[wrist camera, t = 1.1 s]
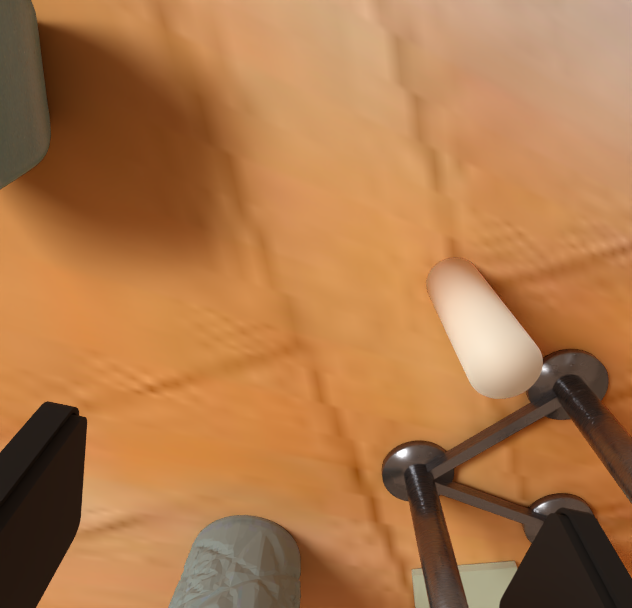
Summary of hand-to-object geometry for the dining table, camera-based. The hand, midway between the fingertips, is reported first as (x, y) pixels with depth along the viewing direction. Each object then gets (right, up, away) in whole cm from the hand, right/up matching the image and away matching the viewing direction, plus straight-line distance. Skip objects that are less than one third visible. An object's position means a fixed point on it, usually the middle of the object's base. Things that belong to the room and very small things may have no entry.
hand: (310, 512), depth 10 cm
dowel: (+8, +5, +21) cm, 23 cm away
